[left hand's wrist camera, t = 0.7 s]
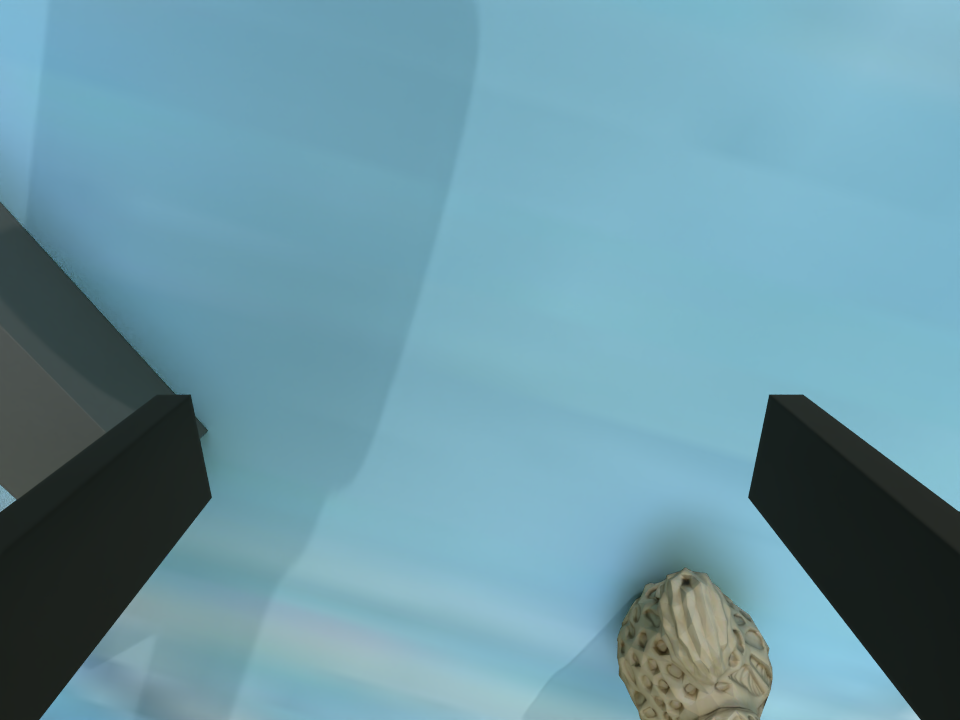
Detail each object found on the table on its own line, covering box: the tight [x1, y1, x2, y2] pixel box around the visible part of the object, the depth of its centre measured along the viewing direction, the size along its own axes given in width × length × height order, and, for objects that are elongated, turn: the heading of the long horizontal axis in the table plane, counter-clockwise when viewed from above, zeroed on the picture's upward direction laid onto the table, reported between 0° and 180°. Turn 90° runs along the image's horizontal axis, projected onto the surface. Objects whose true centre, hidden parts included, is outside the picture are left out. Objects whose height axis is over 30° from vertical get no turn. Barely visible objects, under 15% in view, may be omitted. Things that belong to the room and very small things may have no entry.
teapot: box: [617, 568, 772, 720], centre depth 41 cm, size 21×12×15 cm, turn 10°
